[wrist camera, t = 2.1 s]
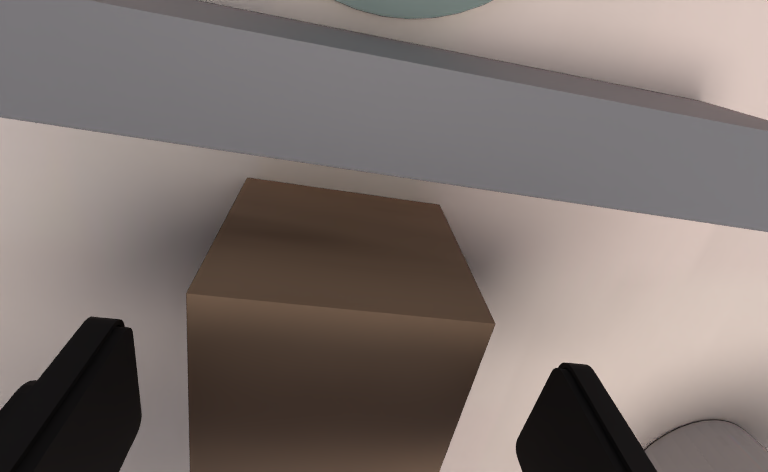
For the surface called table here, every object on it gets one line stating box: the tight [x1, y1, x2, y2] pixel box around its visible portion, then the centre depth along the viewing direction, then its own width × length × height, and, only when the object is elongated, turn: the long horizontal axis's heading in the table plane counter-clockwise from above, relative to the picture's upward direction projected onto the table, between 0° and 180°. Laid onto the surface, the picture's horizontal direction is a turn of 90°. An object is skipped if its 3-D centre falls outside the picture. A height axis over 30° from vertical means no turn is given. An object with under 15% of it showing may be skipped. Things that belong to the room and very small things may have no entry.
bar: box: [0, 0, 768, 232], centre depth 10 cm, size 2×20×5 cm, turn 79°
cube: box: [186, 178, 495, 472], centre depth 13 cm, size 6×6×6 cm
